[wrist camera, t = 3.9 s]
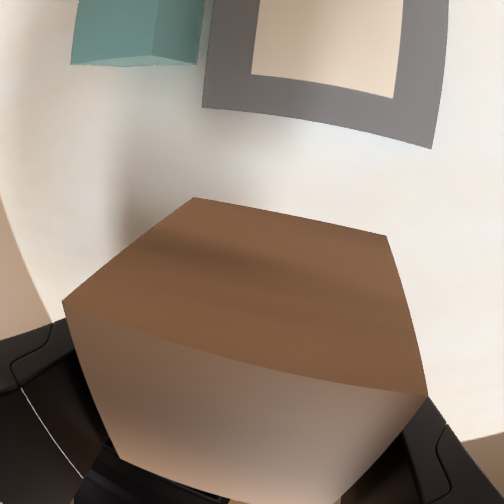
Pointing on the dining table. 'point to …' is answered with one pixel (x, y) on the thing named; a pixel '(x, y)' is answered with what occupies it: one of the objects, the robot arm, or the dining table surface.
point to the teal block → (137, 32)
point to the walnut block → (250, 352)
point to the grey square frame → (331, 62)
